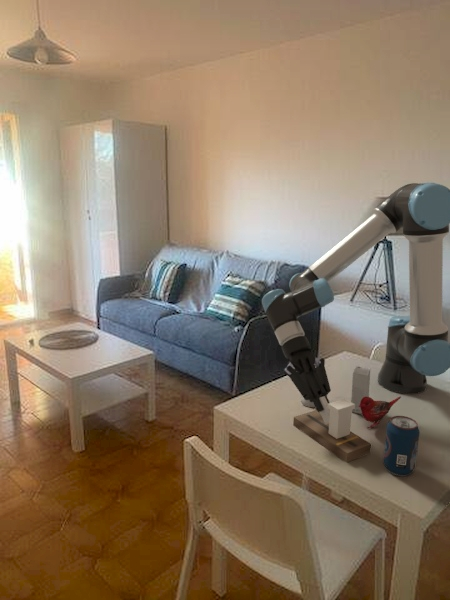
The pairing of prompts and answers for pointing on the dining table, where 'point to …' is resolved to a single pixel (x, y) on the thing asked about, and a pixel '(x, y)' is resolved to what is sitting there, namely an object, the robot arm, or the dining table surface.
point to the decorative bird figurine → (375, 409)
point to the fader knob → (340, 418)
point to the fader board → (341, 447)
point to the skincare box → (360, 387)
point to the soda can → (401, 445)
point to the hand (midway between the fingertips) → (330, 422)
